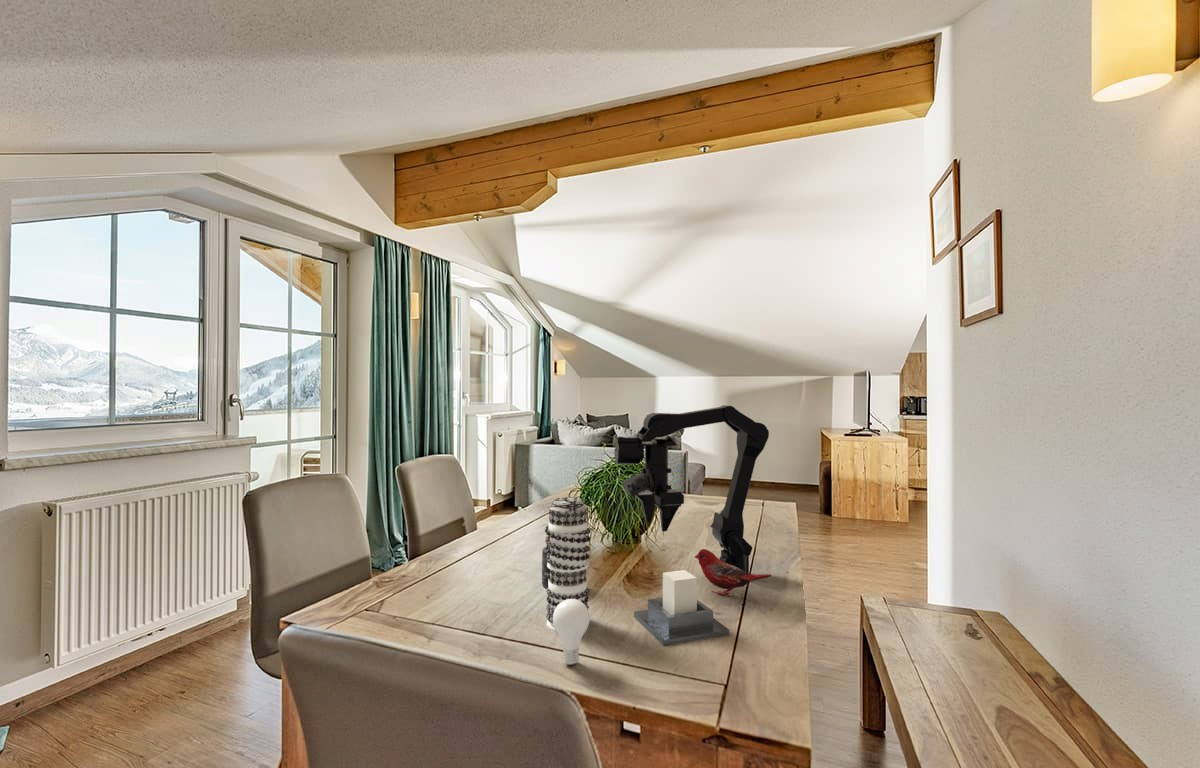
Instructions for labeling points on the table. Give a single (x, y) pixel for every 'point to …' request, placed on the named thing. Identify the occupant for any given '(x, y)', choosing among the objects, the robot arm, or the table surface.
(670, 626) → the square socket
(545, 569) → the pill bottle
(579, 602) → the lightbulb
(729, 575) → the decorative bird figurine
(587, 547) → the decorative candle
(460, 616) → the table surface
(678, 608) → the square peg
